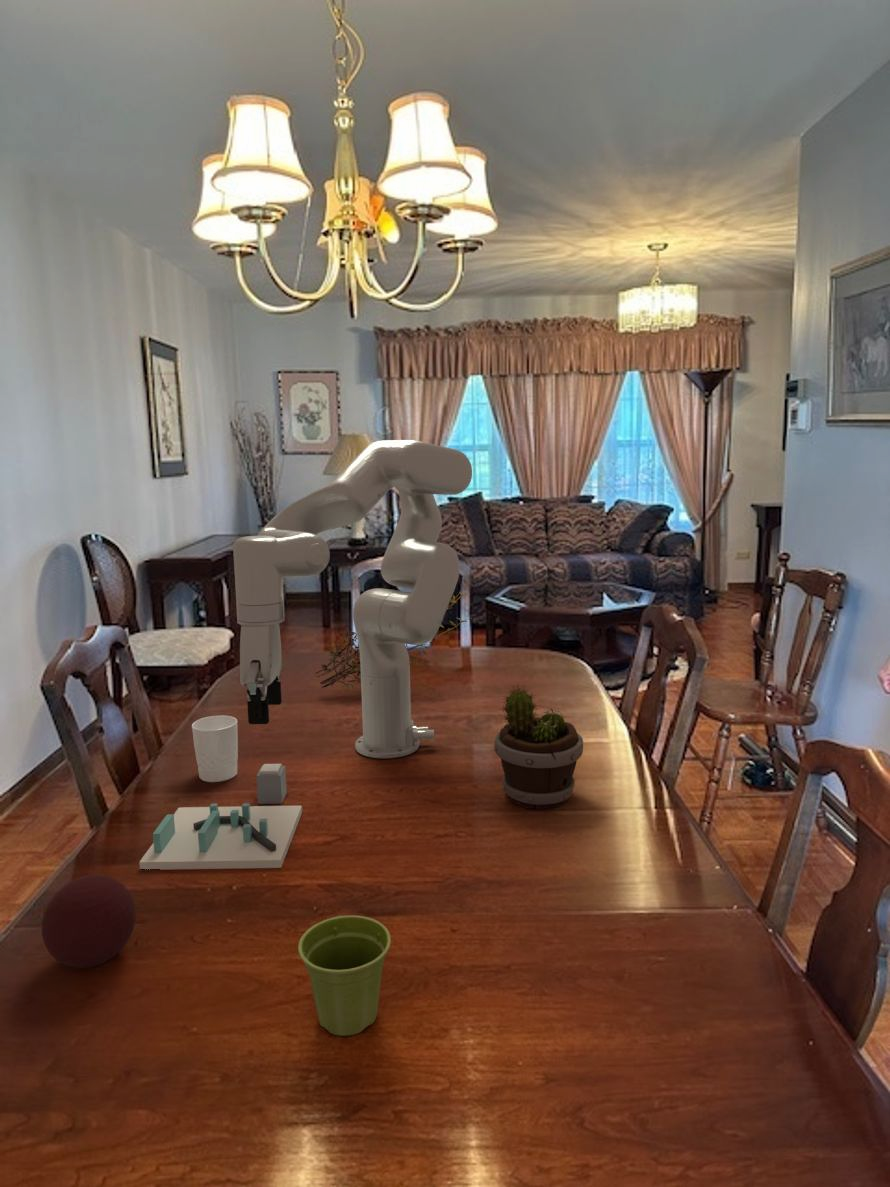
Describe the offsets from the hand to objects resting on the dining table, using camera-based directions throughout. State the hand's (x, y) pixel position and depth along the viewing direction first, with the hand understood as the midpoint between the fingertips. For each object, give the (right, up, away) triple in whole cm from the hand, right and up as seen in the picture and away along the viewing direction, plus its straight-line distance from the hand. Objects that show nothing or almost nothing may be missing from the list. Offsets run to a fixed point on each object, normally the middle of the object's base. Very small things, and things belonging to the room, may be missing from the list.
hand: (265, 713), depth 130 cm
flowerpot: (+45, -15, +2) cm, 48 cm away
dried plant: (+19, -4, +61) cm, 64 cm away
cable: (-2, -17, -12) cm, 21 cm away
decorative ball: (-11, -23, -38) cm, 46 cm away
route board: (-4, -18, -11) cm, 21 cm away
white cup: (-12, -13, +13) cm, 22 cm away
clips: (-2, -16, -10) cm, 19 cm away
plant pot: (+20, -25, -48) cm, 57 cm away
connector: (0, -15, +3) cm, 15 cm away
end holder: (-9, -17, -14) cm, 23 cm away
